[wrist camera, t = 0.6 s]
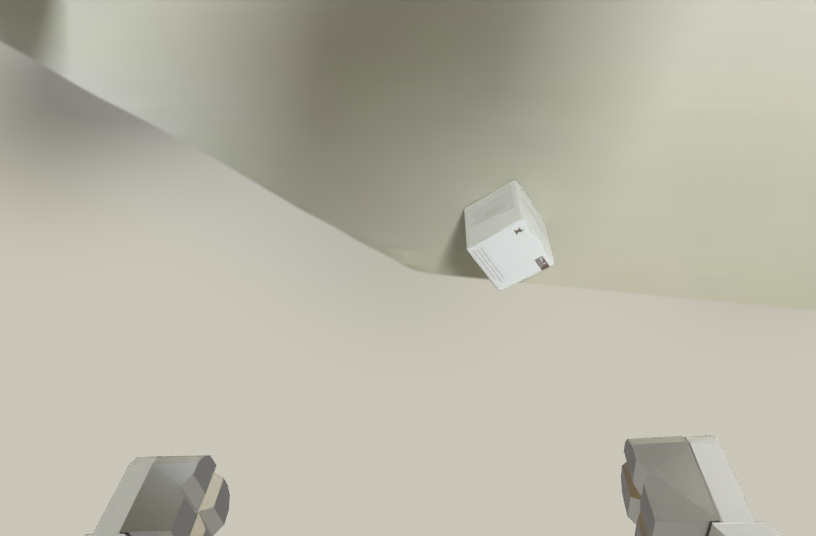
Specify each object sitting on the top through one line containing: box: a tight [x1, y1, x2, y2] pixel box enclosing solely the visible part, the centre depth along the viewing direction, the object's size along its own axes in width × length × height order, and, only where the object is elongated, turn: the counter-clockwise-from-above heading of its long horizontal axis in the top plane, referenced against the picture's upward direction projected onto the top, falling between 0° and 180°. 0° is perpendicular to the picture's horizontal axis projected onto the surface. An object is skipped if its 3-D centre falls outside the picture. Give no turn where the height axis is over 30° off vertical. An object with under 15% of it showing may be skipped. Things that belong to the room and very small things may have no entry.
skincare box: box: [464, 180, 554, 291], centre depth 55 cm, size 6×6×7 cm
